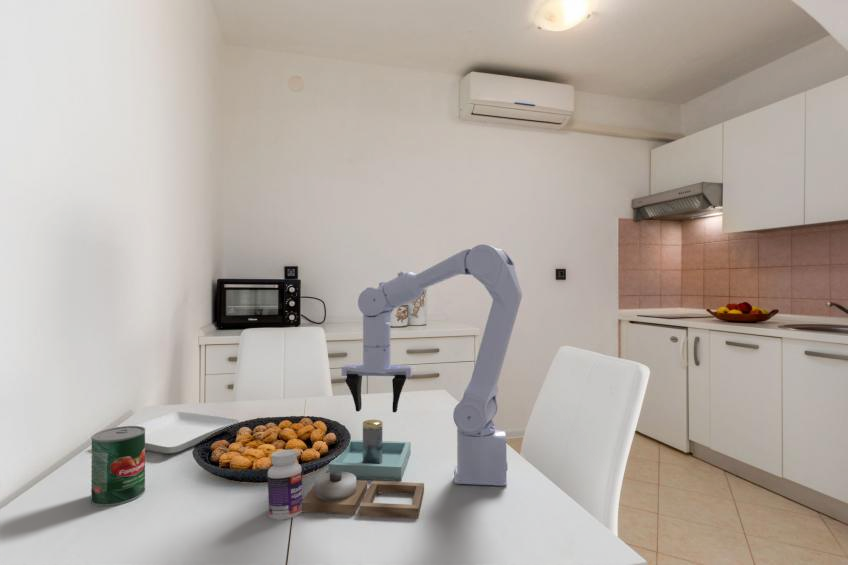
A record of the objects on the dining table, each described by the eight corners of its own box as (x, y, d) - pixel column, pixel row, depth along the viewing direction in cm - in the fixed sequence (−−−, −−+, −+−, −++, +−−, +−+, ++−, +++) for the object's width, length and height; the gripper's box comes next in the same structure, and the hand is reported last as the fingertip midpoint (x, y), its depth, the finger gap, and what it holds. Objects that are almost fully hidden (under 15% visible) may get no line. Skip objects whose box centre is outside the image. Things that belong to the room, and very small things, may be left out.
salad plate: (172, 462, 97) (171, 445, 97) (98, 450, 104) (98, 435, 104) (242, 431, 117) (242, 418, 117) (177, 423, 124) (177, 410, 124)
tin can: (385, 459, 96) (385, 420, 97) (378, 466, 93) (378, 426, 93) (367, 457, 98) (367, 419, 98) (359, 464, 94) (359, 424, 94)
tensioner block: (424, 491, 83) (424, 466, 83) (418, 518, 73) (418, 489, 73) (318, 487, 85) (318, 462, 85) (300, 512, 75) (300, 484, 75)
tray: (410, 453, 101) (410, 441, 101) (401, 480, 88) (401, 467, 88) (347, 451, 103) (347, 439, 103) (328, 477, 89) (328, 464, 89)
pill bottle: (298, 520, 73) (295, 456, 74) (264, 522, 73) (261, 458, 74) (307, 506, 78) (304, 447, 79) (276, 508, 78) (273, 449, 79)
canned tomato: (133, 504, 78) (133, 438, 78) (81, 508, 77) (81, 441, 77) (152, 484, 86) (152, 424, 86) (105, 487, 84) (105, 426, 84)
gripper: (413, 343, 101) (413, 406, 101) (347, 342, 102) (347, 404, 102) (409, 347, 94) (409, 415, 94) (338, 347, 95) (338, 413, 95)
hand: (376, 410), depth 97 cm, fingers open, 7 cm apart
